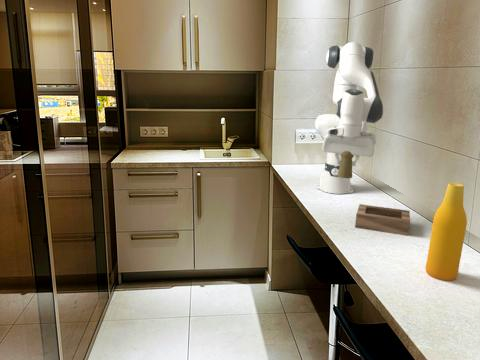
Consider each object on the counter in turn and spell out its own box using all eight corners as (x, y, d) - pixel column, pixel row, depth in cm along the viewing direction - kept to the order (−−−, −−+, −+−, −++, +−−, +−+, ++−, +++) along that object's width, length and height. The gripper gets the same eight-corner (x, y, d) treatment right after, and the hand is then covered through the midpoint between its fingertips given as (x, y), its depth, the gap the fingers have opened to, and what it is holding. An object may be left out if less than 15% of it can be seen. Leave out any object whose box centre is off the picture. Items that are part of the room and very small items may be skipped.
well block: (358, 216, 190) (359, 204, 188) (407, 223, 183) (409, 210, 182) (354, 227, 176) (356, 214, 174) (408, 235, 170) (410, 222, 168)
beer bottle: (454, 284, 132) (471, 190, 125) (422, 275, 137) (436, 184, 129) (459, 273, 139) (475, 184, 132) (428, 265, 144) (442, 178, 137)
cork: (342, 173, 185) (345, 148, 183) (355, 176, 181) (358, 150, 178) (334, 175, 181) (337, 149, 178) (347, 178, 177) (350, 151, 174)
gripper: (377, 132, 176) (373, 166, 180) (325, 128, 183) (322, 160, 186) (376, 134, 170) (372, 169, 174) (323, 130, 177) (320, 163, 180)
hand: (346, 165), depth 180 cm, fingers closed on cork, 4 cm apart
